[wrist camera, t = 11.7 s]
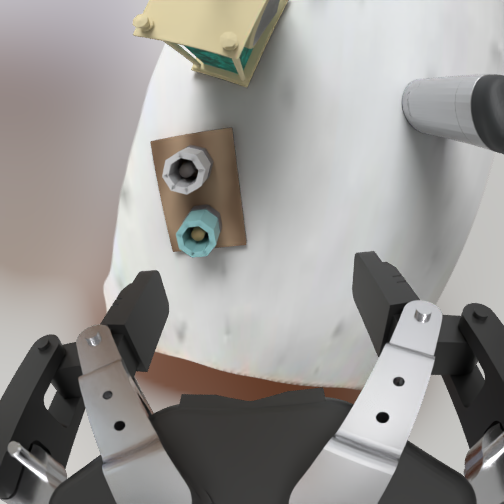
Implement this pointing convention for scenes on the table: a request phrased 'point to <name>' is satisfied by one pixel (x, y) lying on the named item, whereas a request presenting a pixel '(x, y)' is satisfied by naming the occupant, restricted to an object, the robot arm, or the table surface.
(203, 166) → the grey sleeve
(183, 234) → the teal sleeve
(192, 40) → the carriage clock
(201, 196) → the brown peg stand
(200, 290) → the table surface
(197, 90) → the table surface
